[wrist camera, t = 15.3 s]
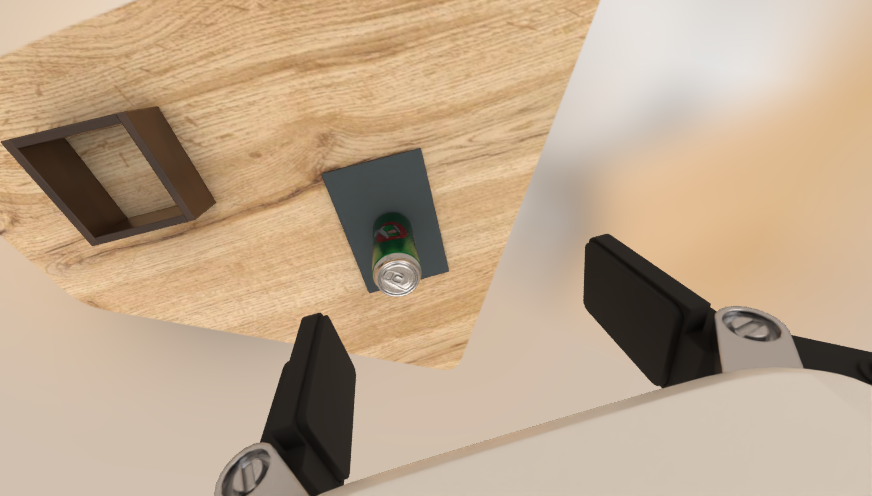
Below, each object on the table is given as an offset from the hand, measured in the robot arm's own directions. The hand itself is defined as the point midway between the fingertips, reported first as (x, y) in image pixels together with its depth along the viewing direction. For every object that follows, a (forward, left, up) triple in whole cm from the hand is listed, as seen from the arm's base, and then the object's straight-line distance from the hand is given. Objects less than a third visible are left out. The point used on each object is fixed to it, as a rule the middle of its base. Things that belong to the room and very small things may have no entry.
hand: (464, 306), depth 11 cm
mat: (+10, -4, -30) cm, 32 cm away
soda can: (+10, -4, -30) cm, 32 cm away
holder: (-4, -28, -30) cm, 41 cm away
